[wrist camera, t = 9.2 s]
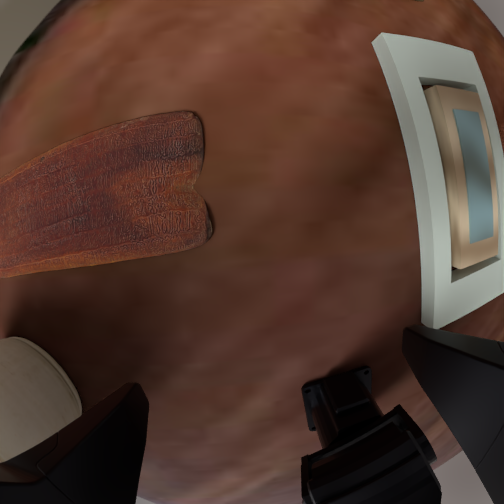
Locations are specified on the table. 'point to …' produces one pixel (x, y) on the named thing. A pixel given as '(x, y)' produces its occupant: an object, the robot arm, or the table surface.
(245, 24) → the table surface
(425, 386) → the robot arm
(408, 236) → the table surface
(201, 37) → the table surface
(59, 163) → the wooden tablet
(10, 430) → the jug
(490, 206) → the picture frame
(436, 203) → the pale grey open frame
